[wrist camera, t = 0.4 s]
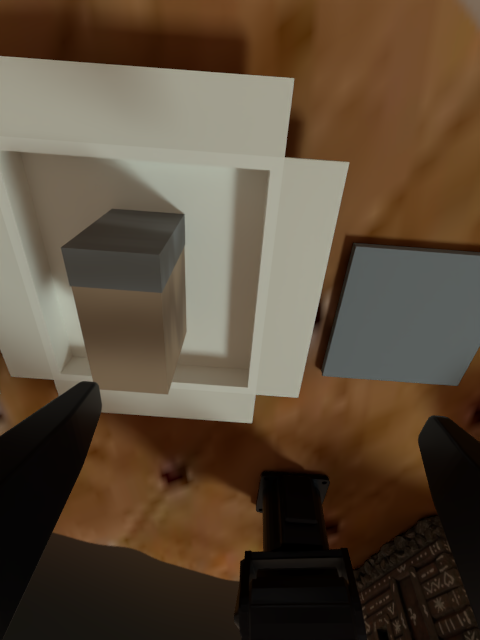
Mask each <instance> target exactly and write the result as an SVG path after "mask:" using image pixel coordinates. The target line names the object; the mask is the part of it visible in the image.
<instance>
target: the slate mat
mask: <svg viewBox="0 0 480 640" xmlns="http://www.w3.org/2000/svg"><path fill="white" fill-rule="evenodd" d="M479 346H480V252H469V251H456V250H442V249H429V248H416V247H402V246H389V245H375V244H362V243H353V247H352V251H351V255H350V259H349V263H348V267H347V271H346V275H345V279H344V283H343V287H342V291H341V295H340V298H339V302H338V306H337V310H336V314H335V318H334V322H333V326H332V330H331V334H330V338H329V342H328V346H327V350H326V354H325V358H324V362H323V366H322V370H321V372H322V376H331V377H344V378H358V379H371V380H385V381H398V382H412V383H425V384H439V385H452V386H458V384H459V382H460V381H461V379H462V377H463V375H464V373H465V372H466V370H467V368H468V366H469V364H470V363H471V361H472V359H473V357H474V355H475V354H476V352H477V350H478V348H479Z"/></svg>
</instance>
